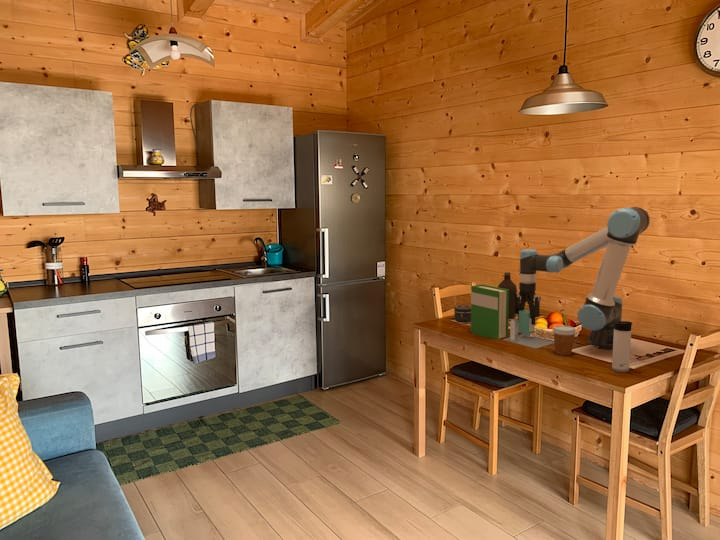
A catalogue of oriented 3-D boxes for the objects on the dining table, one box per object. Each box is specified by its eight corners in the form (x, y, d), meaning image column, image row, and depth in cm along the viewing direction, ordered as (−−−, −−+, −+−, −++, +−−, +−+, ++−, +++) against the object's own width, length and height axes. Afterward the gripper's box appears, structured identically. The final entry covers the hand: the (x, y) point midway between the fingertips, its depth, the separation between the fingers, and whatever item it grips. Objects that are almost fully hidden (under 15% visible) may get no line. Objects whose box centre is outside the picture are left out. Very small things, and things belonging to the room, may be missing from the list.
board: (556, 343, 260) (556, 342, 260) (536, 350, 251) (536, 348, 251) (522, 335, 275) (522, 333, 275) (502, 341, 267) (502, 339, 266)
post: (520, 340, 264) (521, 320, 263) (514, 342, 262) (515, 322, 260) (513, 338, 268) (513, 318, 266) (507, 340, 265) (507, 320, 264)
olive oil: (502, 319, 307) (503, 274, 303) (493, 315, 317) (494, 271, 313) (519, 318, 309) (521, 273, 305) (510, 313, 319) (511, 270, 316)
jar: (453, 322, 304) (453, 308, 303) (455, 317, 313) (455, 304, 312) (471, 323, 301) (471, 309, 300) (473, 318, 310) (473, 305, 309)
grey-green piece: (527, 334, 266) (528, 312, 264) (518, 332, 270) (518, 310, 268) (534, 332, 269) (534, 311, 267) (525, 330, 273) (525, 309, 272)
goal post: (532, 337, 269) (533, 317, 268) (527, 338, 267) (527, 319, 265) (525, 335, 273) (525, 315, 271) (519, 336, 270) (519, 317, 269)
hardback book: (508, 338, 271) (509, 289, 267) (497, 341, 267) (498, 291, 263) (481, 330, 286) (482, 284, 282) (470, 333, 282) (471, 286, 278)
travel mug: (624, 373, 219) (627, 324, 216) (608, 369, 224) (611, 320, 221) (633, 370, 223) (635, 321, 220) (617, 366, 228) (619, 318, 225)
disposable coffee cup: (564, 350, 250) (565, 324, 249) (579, 356, 242) (581, 329, 240) (547, 353, 247) (547, 326, 245) (562, 359, 238) (563, 331, 236)
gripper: (549, 283, 261) (547, 332, 264) (517, 278, 275) (515, 324, 279) (539, 285, 256) (537, 335, 260) (507, 280, 271) (506, 327, 274)
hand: (526, 329), depth 269 cm, fingers closed on grey-green piece, 5 cm apart
